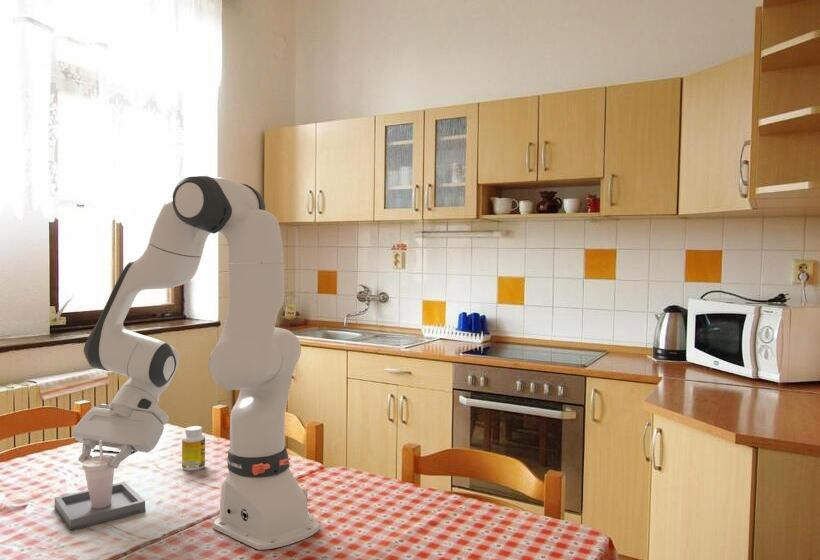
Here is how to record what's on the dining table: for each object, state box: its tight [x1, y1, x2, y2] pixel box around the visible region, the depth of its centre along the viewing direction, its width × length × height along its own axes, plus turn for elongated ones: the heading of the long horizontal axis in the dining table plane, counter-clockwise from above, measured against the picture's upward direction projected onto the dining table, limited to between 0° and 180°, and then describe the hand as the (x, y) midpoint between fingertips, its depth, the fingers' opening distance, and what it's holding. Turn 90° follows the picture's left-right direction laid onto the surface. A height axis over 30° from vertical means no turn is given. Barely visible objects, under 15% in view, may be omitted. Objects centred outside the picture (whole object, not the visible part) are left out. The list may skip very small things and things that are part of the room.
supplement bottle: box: [181, 425, 206, 472], centre depth 151 cm, size 6×6×10 cm
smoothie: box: [81, 440, 115, 509], centre depth 126 cm, size 6×6×14 cm
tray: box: [54, 481, 146, 532], centre depth 126 cm, size 14×14×2 cm
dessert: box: [92, 445, 134, 453], centre depth 167 cm, size 12×12×5 cm
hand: (97, 464), depth 125 cm, fingers closed on smoothie, 6 cm apart
